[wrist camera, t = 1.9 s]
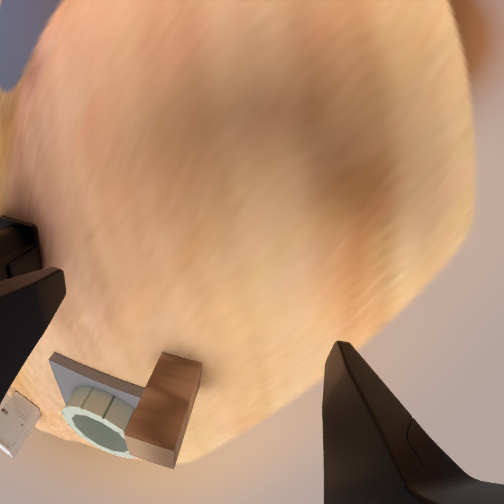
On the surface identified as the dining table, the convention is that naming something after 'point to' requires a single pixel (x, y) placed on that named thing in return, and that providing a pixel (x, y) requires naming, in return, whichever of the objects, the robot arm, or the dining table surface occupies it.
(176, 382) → the walnut peg
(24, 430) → the skincare box
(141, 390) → the collar holder
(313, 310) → the dining table surface
